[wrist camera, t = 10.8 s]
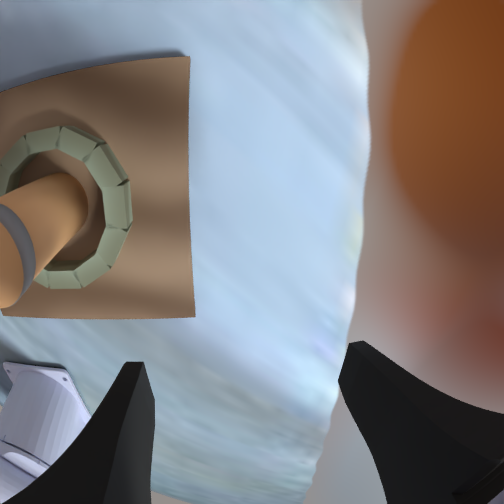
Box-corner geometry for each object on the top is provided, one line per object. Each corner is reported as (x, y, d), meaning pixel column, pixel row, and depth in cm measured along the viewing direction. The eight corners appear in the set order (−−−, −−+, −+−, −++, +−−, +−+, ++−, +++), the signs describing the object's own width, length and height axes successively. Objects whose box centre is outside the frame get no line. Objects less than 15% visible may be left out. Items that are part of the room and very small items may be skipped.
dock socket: (195, 308, 20) (195, 331, 18) (8, 308, 18) (-5, 326, 15) (190, 60, 14) (189, 49, 12) (-26, 106, 11) (-47, 107, 9)
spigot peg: (93, 236, 16) (36, 311, 9) (39, 239, 15) (-30, 307, 8) (85, 167, 14) (9, 204, 7) (29, 176, 14) (-56, 216, 6)
